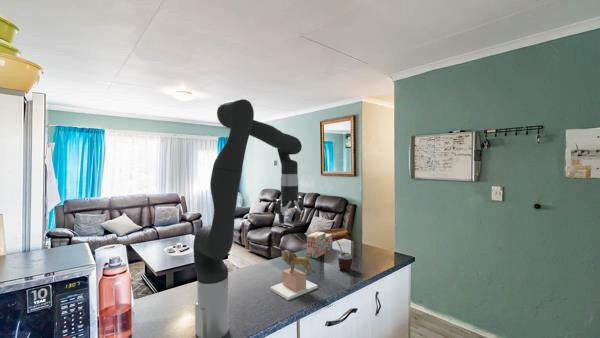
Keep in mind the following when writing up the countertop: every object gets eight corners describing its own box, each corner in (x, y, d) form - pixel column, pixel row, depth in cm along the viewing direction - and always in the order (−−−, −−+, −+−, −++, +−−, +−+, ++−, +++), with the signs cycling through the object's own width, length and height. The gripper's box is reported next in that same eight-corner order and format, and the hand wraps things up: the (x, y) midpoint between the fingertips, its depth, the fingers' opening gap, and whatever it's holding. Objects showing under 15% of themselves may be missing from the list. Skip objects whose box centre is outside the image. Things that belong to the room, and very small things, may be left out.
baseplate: (288, 300, 104) (288, 297, 104) (270, 289, 113) (270, 287, 113) (317, 288, 114) (317, 285, 114) (299, 279, 123) (299, 276, 123)
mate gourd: (355, 272, 131) (354, 241, 131) (340, 273, 129) (340, 243, 129) (348, 266, 139) (348, 237, 138) (334, 268, 136) (333, 239, 136)
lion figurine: (280, 272, 113) (279, 251, 113) (284, 268, 118) (284, 248, 118) (314, 276, 109) (314, 254, 109) (316, 271, 114) (316, 250, 114)
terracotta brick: (295, 291, 108) (295, 277, 108) (282, 284, 115) (282, 270, 115) (306, 287, 112) (305, 273, 112) (292, 280, 119) (292, 267, 119)
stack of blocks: (323, 247, 172) (323, 228, 172) (332, 248, 169) (332, 229, 169) (306, 256, 154) (306, 235, 154) (316, 258, 151) (315, 237, 151)
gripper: (281, 185, 108) (281, 226, 108) (307, 184, 117) (307, 221, 117) (271, 185, 113) (271, 223, 113) (296, 183, 123) (296, 218, 123)
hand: (289, 222), depth 115 cm, fingers open, 8 cm apart
